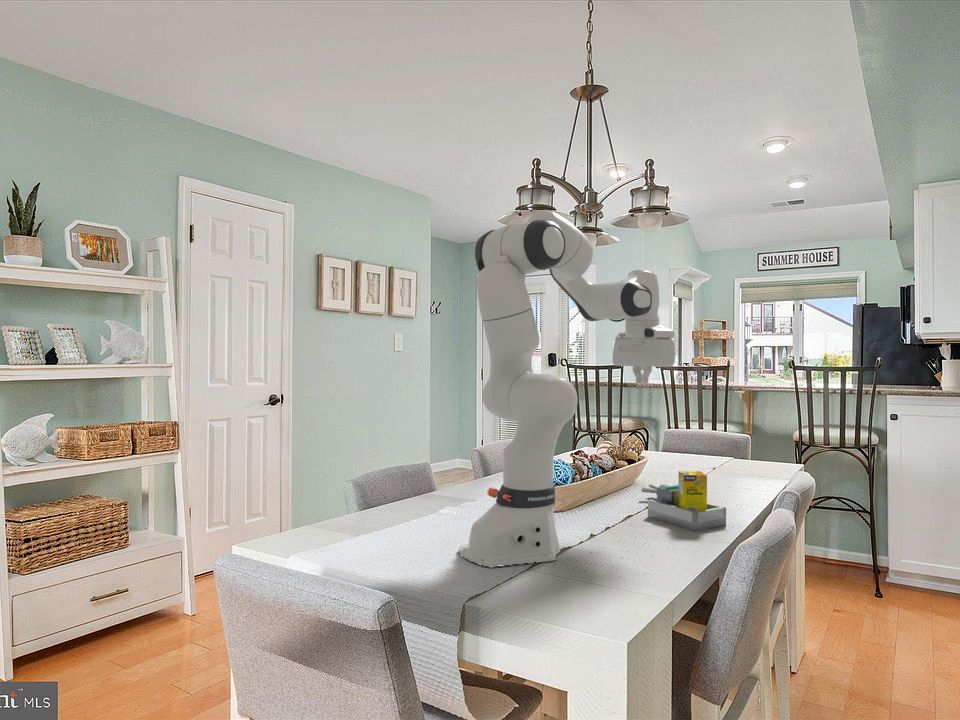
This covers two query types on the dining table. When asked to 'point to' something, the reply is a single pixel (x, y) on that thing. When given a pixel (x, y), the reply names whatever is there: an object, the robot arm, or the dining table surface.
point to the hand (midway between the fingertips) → (642, 383)
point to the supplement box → (692, 490)
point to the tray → (684, 511)
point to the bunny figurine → (654, 487)
